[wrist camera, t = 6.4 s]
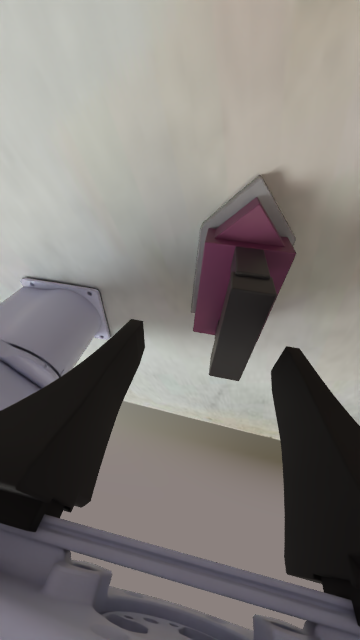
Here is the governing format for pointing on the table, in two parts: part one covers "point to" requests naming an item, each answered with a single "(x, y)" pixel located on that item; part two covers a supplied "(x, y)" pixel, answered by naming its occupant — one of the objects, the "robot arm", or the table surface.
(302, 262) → the table surface
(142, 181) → the table surface
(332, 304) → the table surface
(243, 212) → the iron
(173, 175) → the table surface
